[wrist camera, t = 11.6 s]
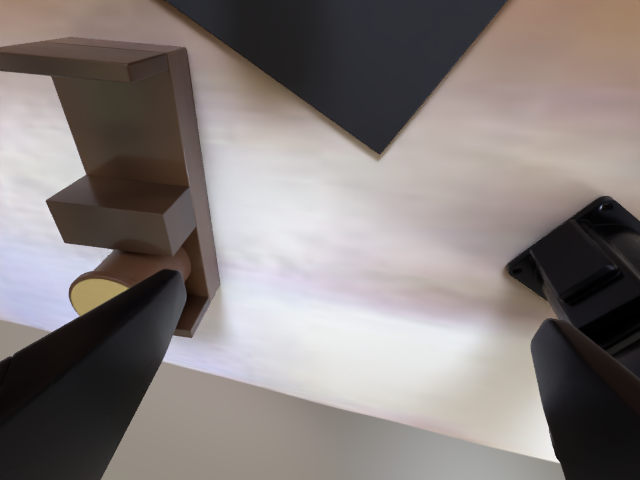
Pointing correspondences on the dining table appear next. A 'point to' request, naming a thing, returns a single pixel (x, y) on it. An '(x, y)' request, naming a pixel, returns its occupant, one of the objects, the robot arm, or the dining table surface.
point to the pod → (121, 276)
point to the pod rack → (130, 154)
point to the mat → (350, 51)
